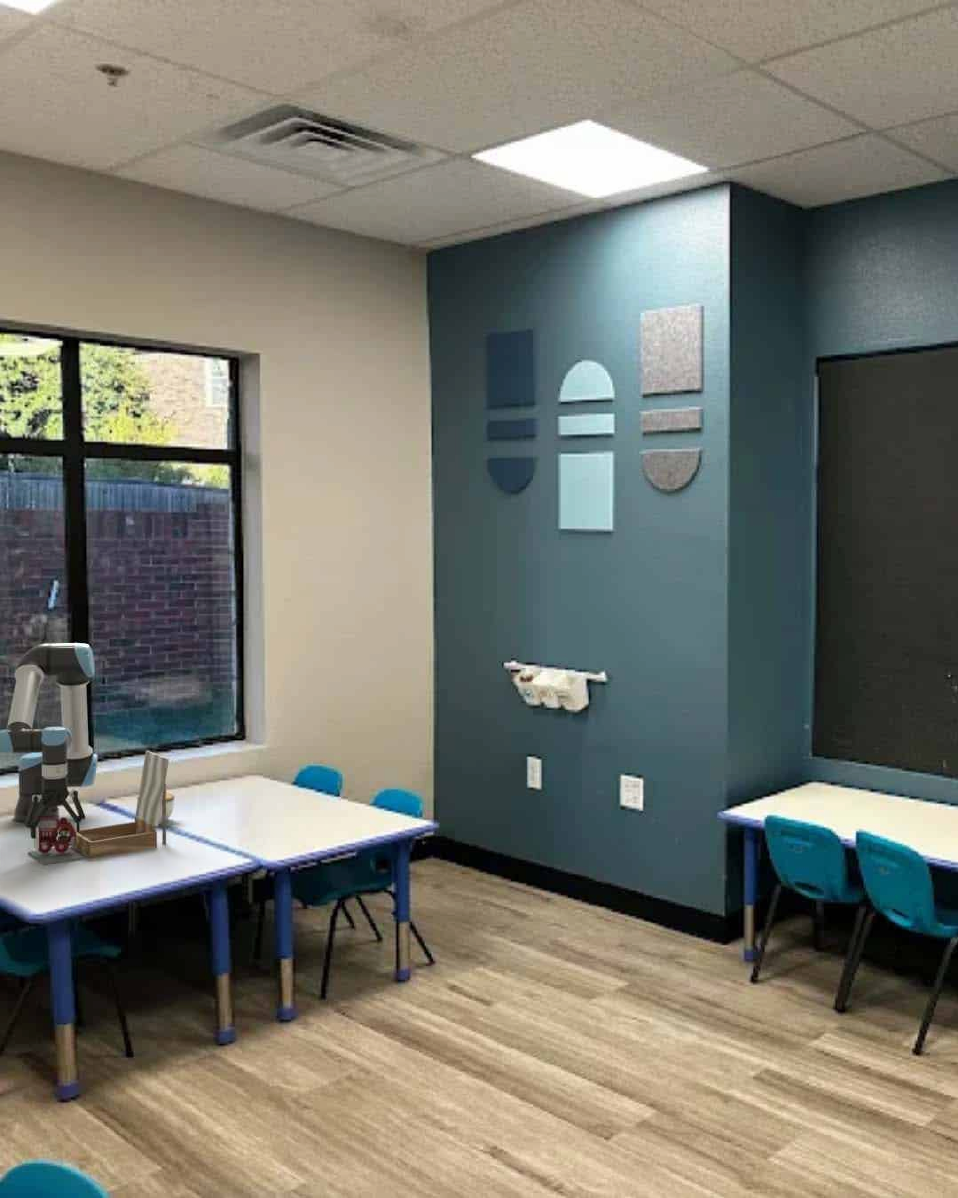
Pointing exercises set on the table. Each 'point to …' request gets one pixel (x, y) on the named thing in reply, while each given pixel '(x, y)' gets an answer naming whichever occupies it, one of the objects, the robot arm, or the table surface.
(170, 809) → the lidded bowl
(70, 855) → the mat
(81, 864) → the table surface
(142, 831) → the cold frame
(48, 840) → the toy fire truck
